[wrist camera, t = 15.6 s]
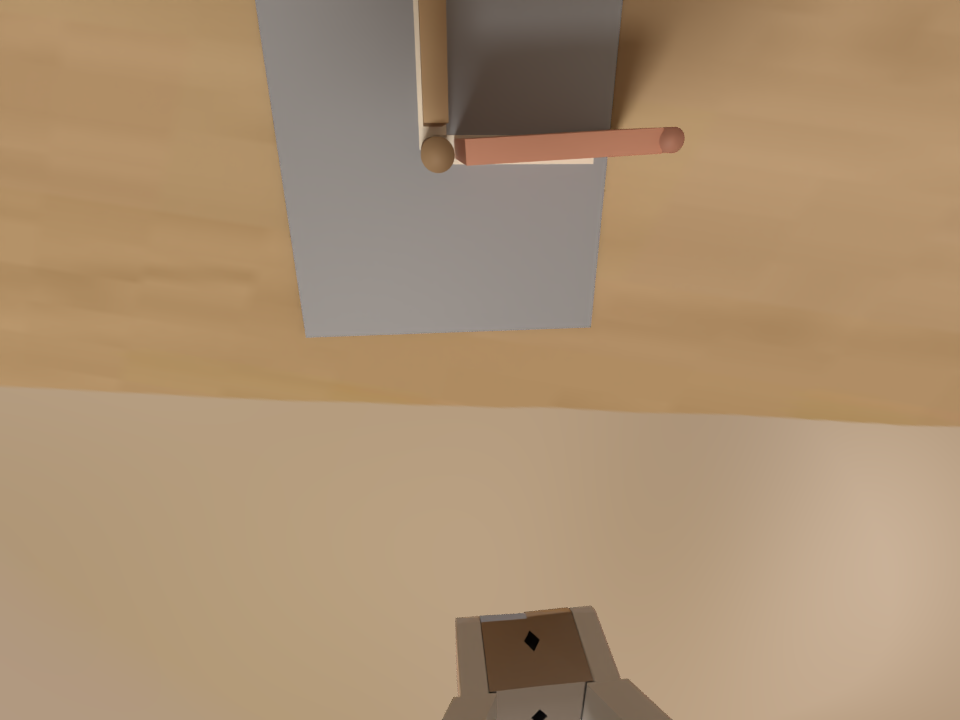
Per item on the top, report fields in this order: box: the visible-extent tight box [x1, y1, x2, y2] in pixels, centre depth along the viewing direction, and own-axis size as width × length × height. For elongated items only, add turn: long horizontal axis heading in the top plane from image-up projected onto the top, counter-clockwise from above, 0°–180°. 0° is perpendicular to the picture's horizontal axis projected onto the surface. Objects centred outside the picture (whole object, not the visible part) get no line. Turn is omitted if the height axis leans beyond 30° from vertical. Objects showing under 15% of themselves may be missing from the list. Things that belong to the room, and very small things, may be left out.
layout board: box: [255, 0, 623, 338], centre depth 34 cm, size 22×24×1 cm
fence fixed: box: [418, 0, 455, 173], centre depth 26 cm, size 2×11×11 cm, turn 0°
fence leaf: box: [454, 127, 684, 166], centre depth 29 cm, size 1×11×10 cm, turn 93°
